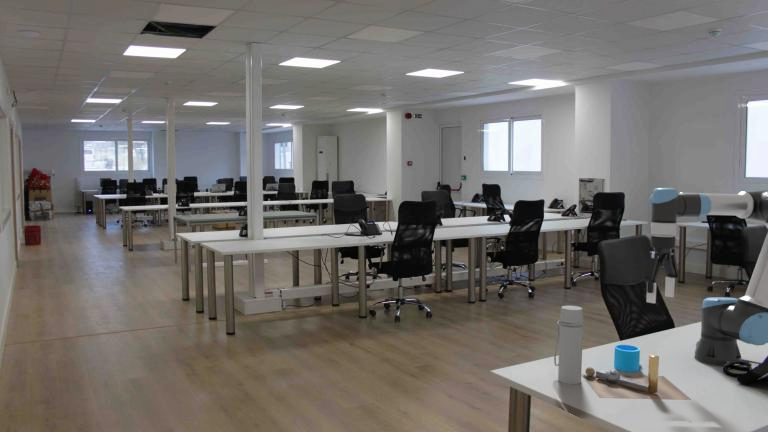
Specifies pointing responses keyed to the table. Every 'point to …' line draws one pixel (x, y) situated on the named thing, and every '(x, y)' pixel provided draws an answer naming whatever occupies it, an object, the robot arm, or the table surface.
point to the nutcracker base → (620, 391)
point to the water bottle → (570, 344)
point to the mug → (626, 358)
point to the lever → (615, 378)
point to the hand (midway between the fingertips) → (660, 299)
